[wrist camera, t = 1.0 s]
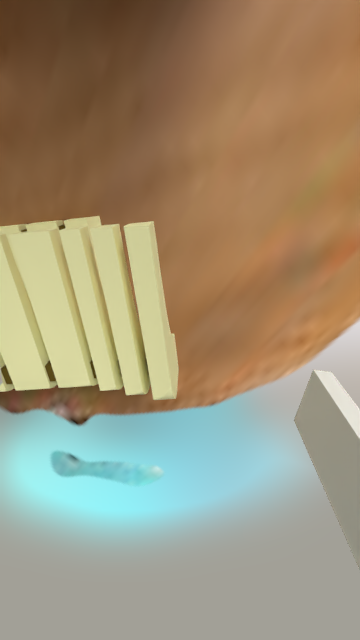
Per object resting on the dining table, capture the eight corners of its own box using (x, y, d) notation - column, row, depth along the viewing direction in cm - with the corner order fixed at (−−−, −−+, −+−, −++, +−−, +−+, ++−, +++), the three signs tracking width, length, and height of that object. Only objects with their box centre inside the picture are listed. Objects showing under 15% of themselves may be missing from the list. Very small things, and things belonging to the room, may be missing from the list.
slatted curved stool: (-20, 343, 44) (-143, 434, 28) (-66, 233, 38) (-262, 268, 21) (181, 328, 42) (175, 416, 26) (167, 208, 35) (148, 225, 19)
